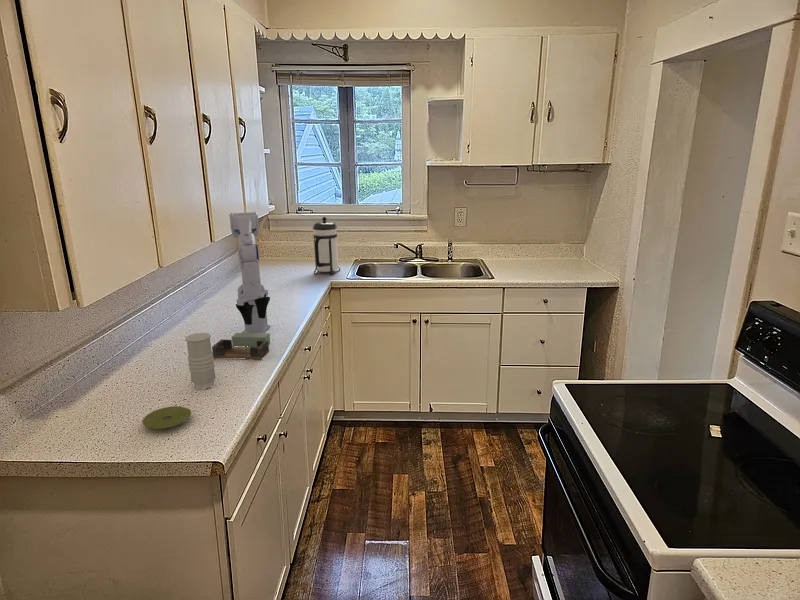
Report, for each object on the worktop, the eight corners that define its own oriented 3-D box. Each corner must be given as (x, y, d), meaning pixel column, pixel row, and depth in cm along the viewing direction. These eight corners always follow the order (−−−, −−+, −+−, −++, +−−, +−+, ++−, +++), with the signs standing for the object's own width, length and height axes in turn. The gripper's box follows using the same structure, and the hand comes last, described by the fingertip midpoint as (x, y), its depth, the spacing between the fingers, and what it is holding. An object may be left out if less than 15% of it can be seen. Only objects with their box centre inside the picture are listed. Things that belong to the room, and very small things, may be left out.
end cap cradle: (222, 350, 180) (221, 339, 179) (269, 351, 178) (268, 340, 177) (213, 358, 174) (211, 347, 172) (261, 359, 172) (260, 348, 171)
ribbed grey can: (210, 378, 159) (205, 330, 155) (220, 385, 154) (214, 337, 150) (188, 384, 155) (181, 336, 150) (197, 392, 150) (190, 343, 145)
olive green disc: (178, 408, 141) (177, 401, 140) (200, 422, 134) (199, 415, 133) (135, 424, 133) (134, 417, 132) (156, 440, 126) (155, 433, 125)
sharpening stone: (237, 343, 187) (235, 333, 186) (270, 344, 186) (269, 333, 185) (232, 347, 183) (231, 337, 182) (266, 348, 182) (265, 337, 181)
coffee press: (308, 271, 291) (304, 216, 282) (336, 268, 297) (333, 214, 289) (317, 278, 276) (313, 220, 267) (346, 274, 282) (343, 218, 274)
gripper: (248, 286, 166) (252, 328, 170) (274, 277, 179) (277, 316, 183) (229, 285, 169) (234, 326, 172) (256, 276, 182) (260, 314, 185)
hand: (255, 321), depth 177 cm, fingers open, 7 cm apart
